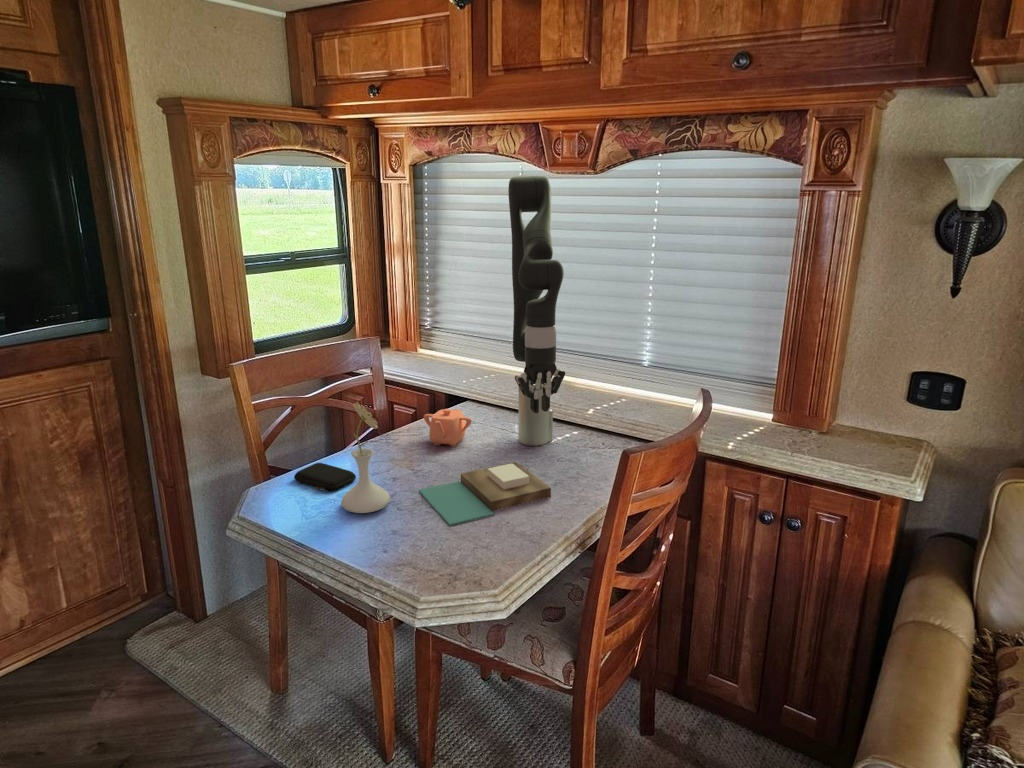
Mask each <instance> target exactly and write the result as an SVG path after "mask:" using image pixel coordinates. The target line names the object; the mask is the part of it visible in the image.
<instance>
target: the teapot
mask: <svg viewBox="0 0 1024 768" xmlns="http://www.w3.org/2000/svg"><path fill="white" fill-rule="evenodd" d="M430 418H431V420H430ZM423 420H424V422H425V423H426V424H427V425H428V426H429V434H428V437H429V441H430V442H431V443H433V445H434V446H436V445H438V446H441V445H442V444H444V445H449V446H451V447H450V448H455V446H456V445H457V444H458V443H459V442H461V440H462V441H463V438H464V437H465V435H466V433H467V432H466V431H467V429H468V428H469V427H470V426H471V423H472V421H473V420H472V418H471V417H469V416H464V413H463V411H462V410H459V409H457V408H454V409H450V408H444V409H440V410H437V411H436V412H435V413H434V414H433V413H426V414H424V415H423ZM440 444H441V445H440ZM456 447H457V446H456Z"/></svg>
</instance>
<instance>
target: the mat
mask: <svg viewBox="0 0 1024 768" xmlns="http://www.w3.org/2000/svg"><path fill="white" fill-rule="evenodd" d="M418 493H420V495H421V494H422V495H421V496H422V497H423V498H424V500H426V501H427V502H428V503H429V504H430V506H431V507H432V508H433V509H434V510H435V511H436V512H437V514H438V515H439V516H440V517H441V518H442V519H443V521H445V523H446V524H448V525H449V527H451V526H455V525H456V524H457V525H461V524H464V522H465V523H469V522H472V520H473V521H476V520H475V519H477V520H480V519H479V518H481V519H485V518H488V517H487V516H489V517H492V516H491V515H493V516H495V513H494V511H491V510H490V509H489V508H488V507H487V506H486V505H485V504H484V503H483V502H482V501H480V500H479V499H478V498H477V497H476V496H475V495H474V494H473V493H472V492H471V491H470V490H469V489H468V488H467V487H465V486H464V485H463V484H462V483H461V480H459V481H454V482H448V483H445V484H440V485H439V484H438V485H435V486H431V487H426V488H421V489H418ZM484 517H485V518H484ZM468 521H469V522H468Z"/></svg>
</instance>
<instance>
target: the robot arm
mask: <svg viewBox="0 0 1024 768" xmlns="http://www.w3.org/2000/svg"><path fill="white" fill-rule="evenodd" d="M551 186H552V185H551V183H550V179H549V178H548V177H547V176H546V175H541V174H539V175H538V174H537V175H515V176H511V178H510V179H509V182H508V189H507V190H508V206H509V207H508V208H509V218H510V219H509V220H510V228H511V229H510V230H511V274H512V275H511V278H512V279H511V280H512V295H513V297H512V298H513V323H512V325H513V330H512V353H513V357H514V359H515V360H516V361H517V362H522V363H525V366H524V369H523V372H522V373H520V374H519V375H517V374H516V375H514V380H515V382H516V384H517V386H518V390H517V391H518V442H519V443H520V444H523V445H526V446H534V447H535V446H537V447H538V446H543V445H546V444H548V443H549V442H553V427H554V426H553V420H554V418H553V416H554V414H553V413H554V411H553V409H552V408H551V396H553V395H554V394H557V393H558V391H559V390H560V386H561V385H562V383H563V380H564V378H565V376H566V371H563V370H562V369H559V368H557V365H556V361H557V329H556V309H557V302H558V297H559V293H560V290H561V288H562V287H561V286H562V283H563V280H564V276H565V272H564V271H565V270H564V267H563V264H562V263H561V262H560V261H559V260H557V259H552V258H553V255H554V251H553V250H554V249H553V241H552V235H551V226H552V225H551V224H552V187H551ZM533 212H536V214H535V215H534V216H533V217H532V219H530V220H529V222H528V223H527V224H526V225H525V223H524V220H523V217H522V213H533ZM543 291H547V292H546V293H545V294H544V296H542V297H541V295H542V293H543Z"/></svg>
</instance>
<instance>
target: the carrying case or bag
mask: <svg viewBox="0 0 1024 768" xmlns="http://www.w3.org/2000/svg"><path fill="white" fill-rule="evenodd" d="M293 479H294V480H295V482H296V483H299V484H303V485H305V486H309V487H312V488H315V490H316V491H325V492H328V493H329V492H330V493H333V492H336V491H339V490H341V489H342V488H345V487H346V486H349V485H350V484H352V483H353V482H354V481H355V480H356V479H357V475H356V473H354V472H353V471H350V470H348V469H345V468H341V467H337V466H334V465H330V464H327V463H323V462H316V463H313V464H311V465H308V466H307V467H305V468H301V469H299V471H297V472H296V473H295V474H294V476H293Z"/></svg>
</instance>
